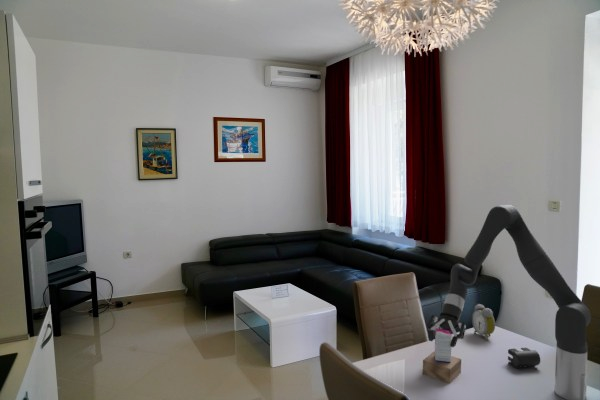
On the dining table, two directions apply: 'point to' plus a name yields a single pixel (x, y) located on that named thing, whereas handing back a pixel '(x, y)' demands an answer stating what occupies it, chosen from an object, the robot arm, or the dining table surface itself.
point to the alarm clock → (483, 321)
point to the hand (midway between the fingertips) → (441, 343)
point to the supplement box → (443, 345)
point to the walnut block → (442, 368)
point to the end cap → (523, 358)
